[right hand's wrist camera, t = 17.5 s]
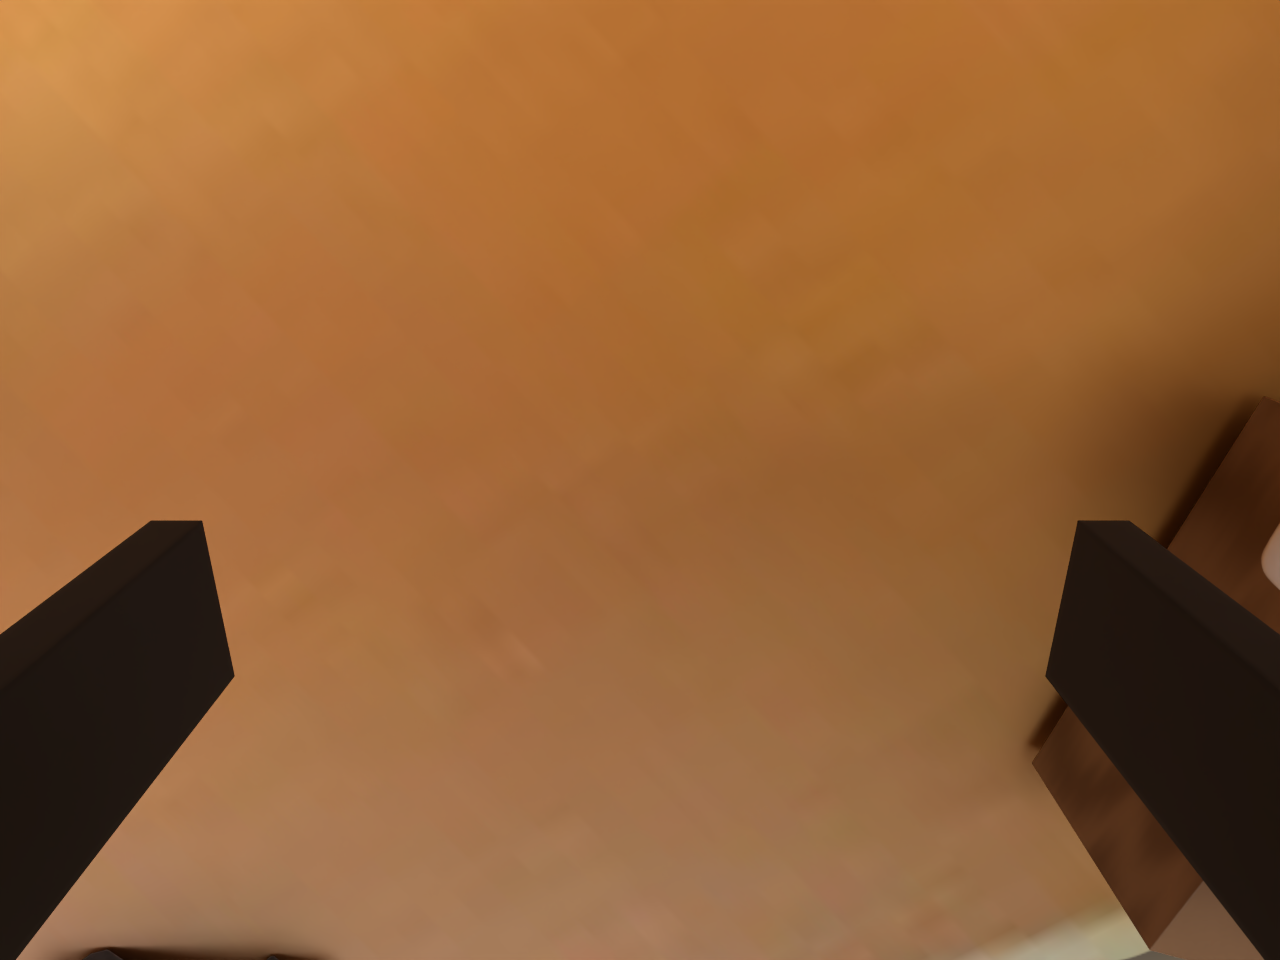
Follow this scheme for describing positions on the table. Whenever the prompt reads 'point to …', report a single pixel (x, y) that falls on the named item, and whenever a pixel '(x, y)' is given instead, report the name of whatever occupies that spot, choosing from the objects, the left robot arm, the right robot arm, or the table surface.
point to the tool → (109, 959)
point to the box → (1090, 783)
